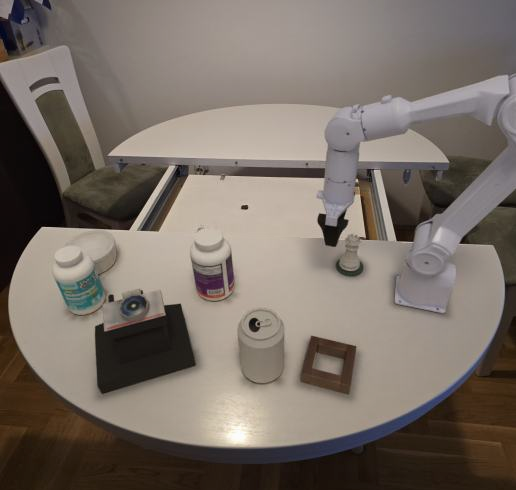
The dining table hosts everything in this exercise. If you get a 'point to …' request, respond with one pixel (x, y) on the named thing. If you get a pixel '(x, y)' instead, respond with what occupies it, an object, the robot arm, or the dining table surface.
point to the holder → (327, 378)
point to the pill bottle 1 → (78, 280)
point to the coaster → (349, 273)
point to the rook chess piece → (350, 254)
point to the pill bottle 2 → (212, 264)
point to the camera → (140, 340)
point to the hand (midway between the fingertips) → (333, 233)
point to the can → (261, 345)
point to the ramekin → (97, 248)
